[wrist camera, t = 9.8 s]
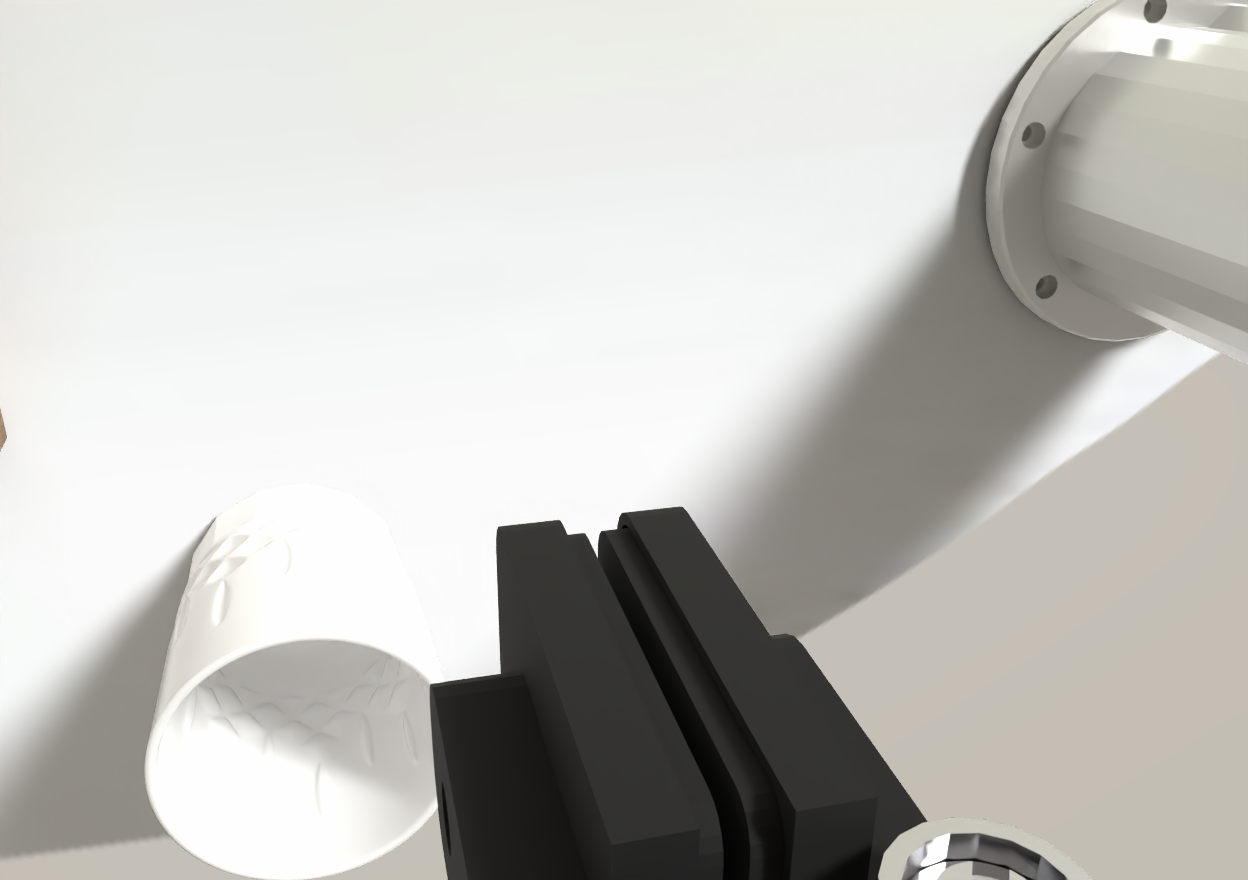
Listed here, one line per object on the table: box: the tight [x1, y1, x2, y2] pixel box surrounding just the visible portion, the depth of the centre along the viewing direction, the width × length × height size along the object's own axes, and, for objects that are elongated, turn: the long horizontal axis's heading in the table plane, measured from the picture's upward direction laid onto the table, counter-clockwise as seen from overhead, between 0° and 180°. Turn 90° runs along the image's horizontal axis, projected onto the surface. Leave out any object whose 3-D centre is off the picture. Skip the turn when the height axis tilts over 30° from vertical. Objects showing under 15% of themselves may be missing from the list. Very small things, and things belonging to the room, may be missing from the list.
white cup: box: [144, 483, 445, 880], centre depth 34 cm, size 8×8×10 cm
